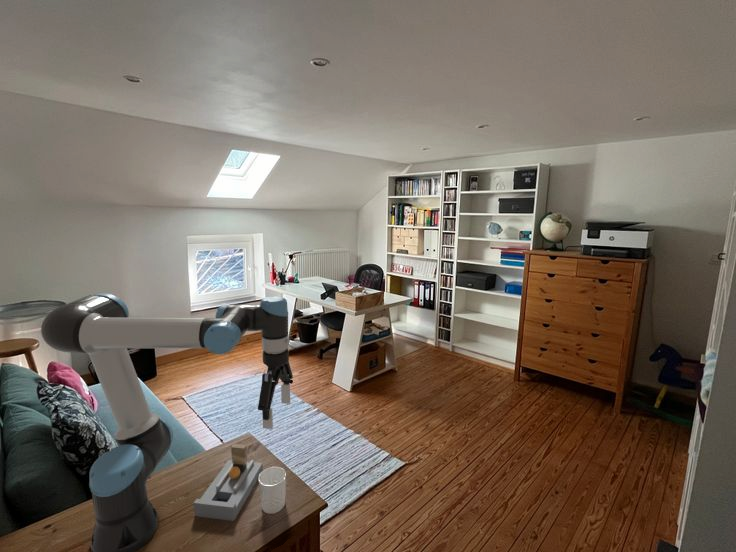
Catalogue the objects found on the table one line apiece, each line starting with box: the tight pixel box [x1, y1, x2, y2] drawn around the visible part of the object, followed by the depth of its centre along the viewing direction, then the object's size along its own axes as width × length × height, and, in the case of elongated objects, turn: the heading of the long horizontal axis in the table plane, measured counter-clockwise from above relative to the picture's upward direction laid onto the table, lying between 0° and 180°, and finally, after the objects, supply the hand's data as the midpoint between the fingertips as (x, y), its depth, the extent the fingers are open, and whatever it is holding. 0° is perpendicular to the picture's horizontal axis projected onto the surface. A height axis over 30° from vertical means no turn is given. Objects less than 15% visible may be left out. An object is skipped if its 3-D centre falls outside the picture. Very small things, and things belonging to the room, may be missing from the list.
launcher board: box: [193, 459, 264, 522], centre depth 113 cm, size 20×12×4 cm, turn 173°
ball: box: [229, 467, 240, 479], centre depth 115 cm, size 4×4×4 cm
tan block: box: [230, 443, 248, 472], centre depth 118 cm, size 2×4×8 cm, turn 83°
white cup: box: [257, 466, 287, 515], centre depth 108 cm, size 8×8×10 cm
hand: (277, 414), depth 110 cm, fingers open, 13 cm apart
